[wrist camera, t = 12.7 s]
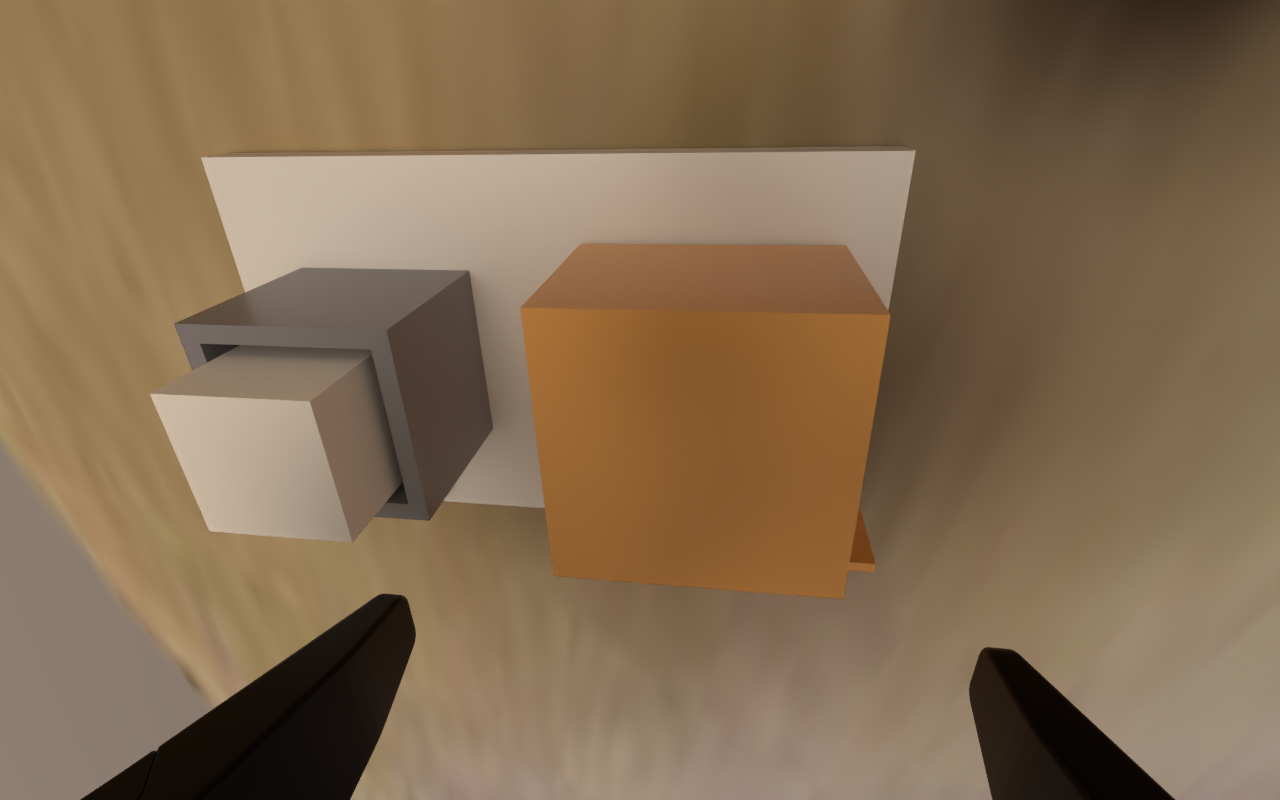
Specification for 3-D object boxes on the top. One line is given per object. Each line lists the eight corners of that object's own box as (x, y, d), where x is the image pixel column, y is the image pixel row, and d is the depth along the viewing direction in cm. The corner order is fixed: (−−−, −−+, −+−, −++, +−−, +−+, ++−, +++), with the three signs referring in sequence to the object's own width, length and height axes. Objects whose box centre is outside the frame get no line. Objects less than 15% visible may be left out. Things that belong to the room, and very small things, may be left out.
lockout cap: (846, 245, 17) (891, 314, 12) (817, 472, 20) (843, 599, 15) (579, 244, 18) (520, 307, 13) (595, 460, 21) (553, 576, 16)
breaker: (400, 332, 17) (309, 401, 13) (426, 452, 18) (352, 542, 15) (271, 328, 17) (149, 393, 14) (308, 446, 19) (209, 531, 15)
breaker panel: (904, 145, 17) (985, 179, 11) (845, 507, 22) (881, 649, 17) (230, 152, 19) (30, 182, 14) (328, 474, 25) (213, 586, 19)
